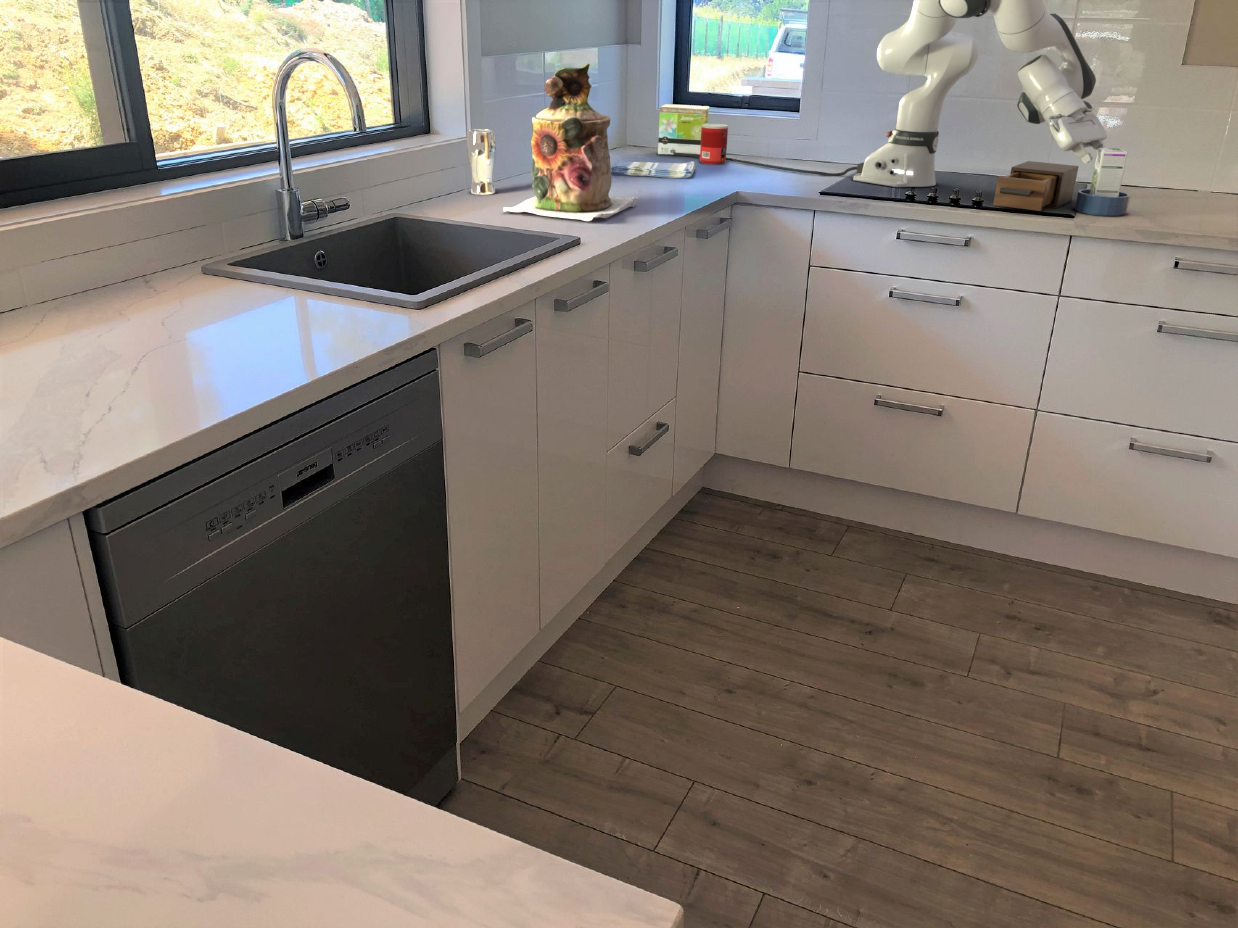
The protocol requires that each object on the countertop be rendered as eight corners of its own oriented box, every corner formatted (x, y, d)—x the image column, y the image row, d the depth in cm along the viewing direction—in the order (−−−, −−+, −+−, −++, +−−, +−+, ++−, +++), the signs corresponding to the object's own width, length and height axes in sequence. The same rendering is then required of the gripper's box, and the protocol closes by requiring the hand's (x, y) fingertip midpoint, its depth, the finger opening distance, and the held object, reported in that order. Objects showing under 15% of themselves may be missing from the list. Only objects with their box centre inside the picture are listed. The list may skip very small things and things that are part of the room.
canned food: (726, 164, 306) (729, 126, 301) (700, 164, 306) (702, 126, 301) (724, 161, 313) (727, 124, 308) (699, 160, 313) (700, 123, 308)
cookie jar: (547, 197, 250) (546, 58, 236) (640, 206, 241) (644, 63, 228) (499, 214, 229) (495, 63, 216) (598, 225, 221) (600, 68, 207)
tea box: (657, 155, 321) (658, 106, 315) (661, 151, 330) (662, 103, 324) (704, 157, 319) (706, 108, 313) (706, 153, 328) (709, 105, 322)
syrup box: (1115, 213, 244) (1129, 151, 238) (1089, 212, 245) (1103, 150, 239) (1110, 209, 249) (1123, 148, 243) (1084, 207, 250) (1097, 147, 244)
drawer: (1035, 213, 238) (1041, 184, 236) (987, 207, 244) (992, 178, 242) (1056, 203, 251) (1061, 175, 249) (1009, 197, 257) (1014, 170, 255)
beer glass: (485, 189, 258) (483, 128, 252) (502, 193, 254) (501, 131, 248) (463, 192, 254) (461, 130, 248) (480, 196, 249) (478, 133, 243)
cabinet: (1056, 208, 251) (1063, 172, 247) (1005, 201, 257) (1011, 167, 254) (1071, 200, 261) (1078, 166, 258) (1022, 194, 268) (1028, 161, 264)
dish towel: (692, 179, 280) (692, 169, 278) (608, 175, 283) (608, 165, 282) (697, 170, 295) (697, 160, 294) (618, 166, 298) (618, 156, 297)
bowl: (1069, 212, 246) (1072, 193, 244) (1081, 205, 254) (1084, 187, 253) (1119, 218, 240) (1124, 199, 238) (1130, 211, 248) (1134, 193, 246)
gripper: (1058, 107, 237) (1090, 155, 235) (1093, 103, 250) (1124, 148, 248) (1036, 125, 242) (1068, 172, 239) (1072, 120, 255) (1102, 164, 253)
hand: (1097, 160), depth 244 cm, fingers open, 8 cm apart
